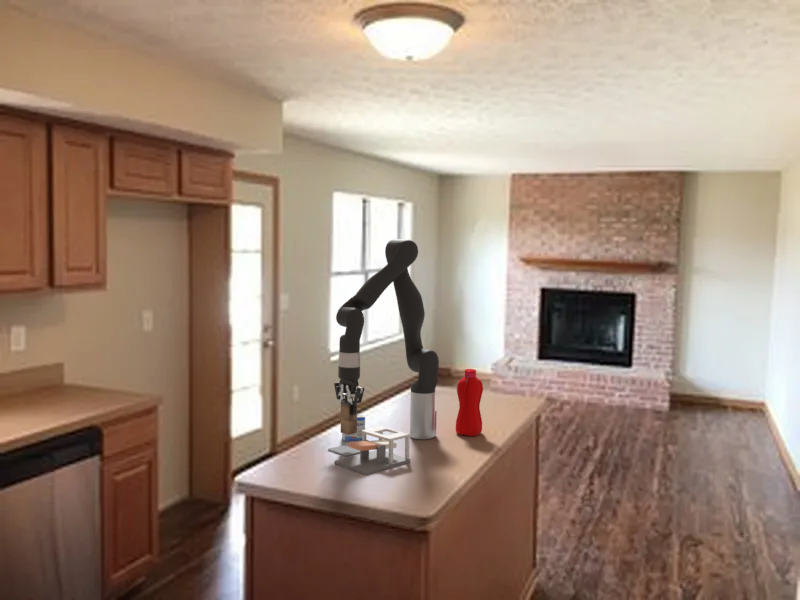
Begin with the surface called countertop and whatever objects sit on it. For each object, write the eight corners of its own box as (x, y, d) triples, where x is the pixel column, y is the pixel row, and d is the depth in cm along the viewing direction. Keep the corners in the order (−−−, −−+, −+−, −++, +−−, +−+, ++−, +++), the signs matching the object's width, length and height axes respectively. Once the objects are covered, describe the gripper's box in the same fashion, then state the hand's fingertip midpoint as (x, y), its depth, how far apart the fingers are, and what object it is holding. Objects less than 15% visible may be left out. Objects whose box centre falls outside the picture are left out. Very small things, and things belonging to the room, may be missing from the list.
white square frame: (379, 452, 247) (379, 425, 247) (410, 462, 237) (410, 434, 236) (334, 463, 233) (334, 435, 233) (365, 474, 223) (365, 445, 222)
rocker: (383, 444, 242) (384, 439, 242) (396, 447, 238) (396, 443, 238) (348, 446, 231) (348, 442, 231) (360, 450, 227) (361, 446, 227)
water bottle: (451, 435, 271) (452, 370, 269) (462, 429, 281) (463, 366, 279) (473, 439, 267) (475, 372, 265) (484, 432, 276) (486, 368, 274)
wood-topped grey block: (349, 430, 251) (349, 399, 250) (356, 432, 248) (357, 401, 247) (340, 432, 248) (340, 401, 247) (348, 434, 245) (348, 403, 244)
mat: (349, 445, 256) (349, 443, 256) (368, 451, 249) (368, 449, 248) (327, 450, 249) (327, 448, 249) (346, 456, 242) (346, 455, 242)
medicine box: (343, 441, 260) (344, 418, 260) (341, 438, 264) (342, 415, 264) (365, 440, 262) (365, 417, 262) (362, 437, 267) (362, 414, 266)
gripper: (371, 366, 244) (370, 415, 245) (344, 361, 254) (343, 408, 255) (354, 368, 239) (353, 419, 240) (327, 363, 249) (327, 411, 250)
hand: (348, 413), depth 248 cm, fingers closed on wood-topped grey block, 4 cm apart
